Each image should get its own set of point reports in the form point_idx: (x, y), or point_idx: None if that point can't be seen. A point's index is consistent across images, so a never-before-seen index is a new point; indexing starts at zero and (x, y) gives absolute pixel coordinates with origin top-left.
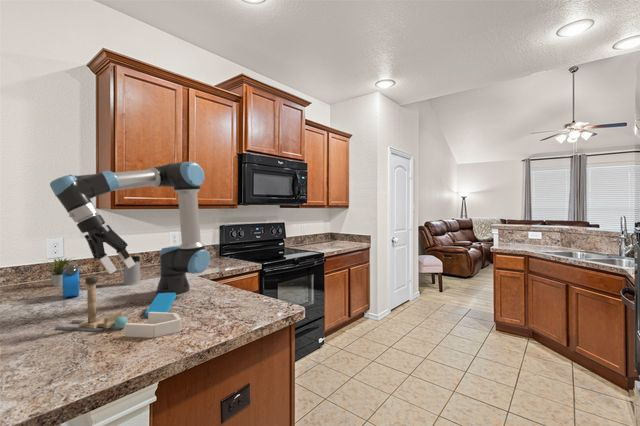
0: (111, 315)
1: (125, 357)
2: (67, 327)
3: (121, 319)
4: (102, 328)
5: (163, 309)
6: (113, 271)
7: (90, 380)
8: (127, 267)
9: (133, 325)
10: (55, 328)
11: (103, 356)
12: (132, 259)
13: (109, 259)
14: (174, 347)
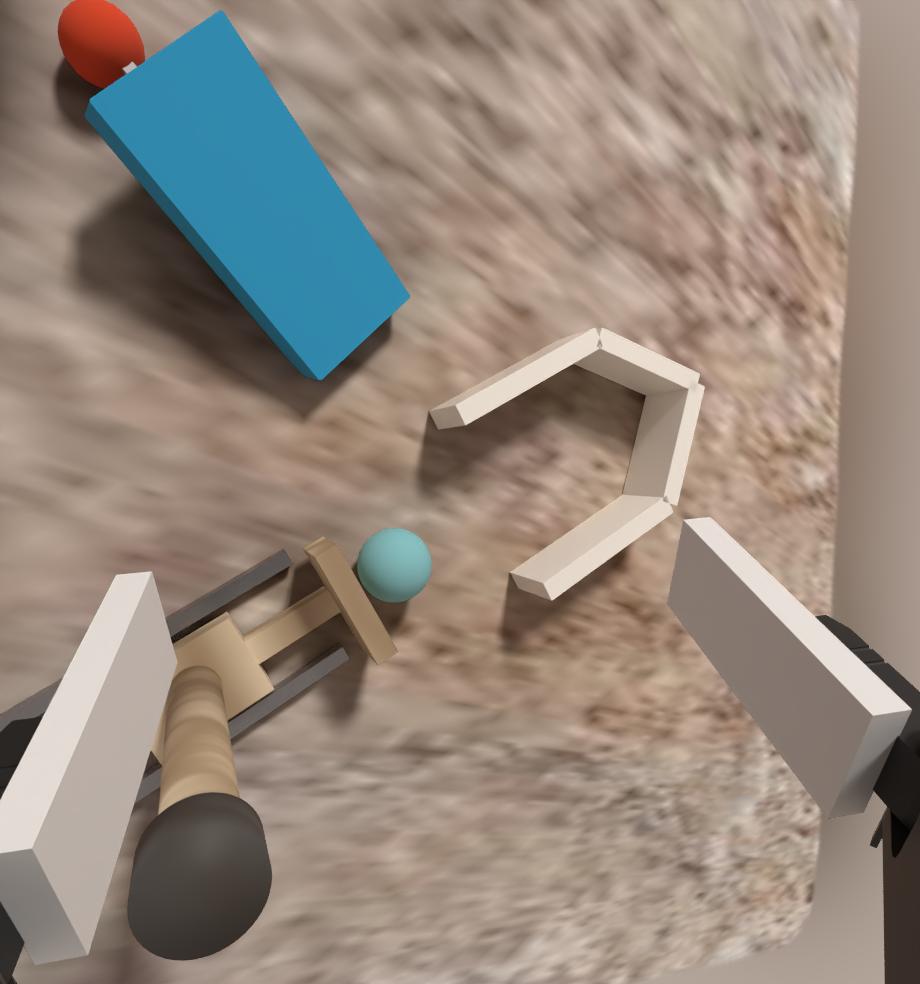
0: (353, 615)
1: None
2: None
3: (426, 575)
4: (339, 651)
5: (380, 277)
6: (166, 625)
7: (765, 772)
8: (684, 613)
9: (590, 570)
10: None
11: (646, 711)
12: (754, 562)
13: (82, 752)
14: (764, 498)
